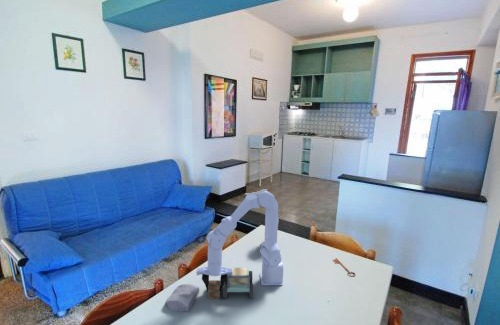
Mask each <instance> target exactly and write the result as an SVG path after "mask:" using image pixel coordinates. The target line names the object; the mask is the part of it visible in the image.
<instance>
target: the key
mask: <svg viewBox="0 0 500 325" xmlns="http://www.w3.org/2000/svg"><path fill="white" fill-rule="evenodd" d="M332 262H333V263H334V264H335V265H341V266H342V268H344V270H345V271H347V276H348V277H349V278H350V277H352V278H354V277H355V276H356V273H355V272H352V271H350V270H349V268H347V267H346V266H345V265H344V264H343V263H342V262H341V261H340V260H339V259H338V258H335V259H332ZM351 274H353V275H351Z"/></svg>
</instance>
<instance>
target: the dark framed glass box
mask: <svg viewBox="0 0 500 325" xmlns="http://www.w3.org/2000/svg"><path fill="white" fill-rule="evenodd" d="M230 269H233V275H227V279H226V281H225V283H224V285H223V288H222V291H223V292H222V294H223V298H224V299H228V293H249V299H250V298H251V299H253V298H254V284H253V270H248V268H247V267H230Z"/></svg>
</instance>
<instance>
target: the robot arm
mask: <svg viewBox="0 0 500 325" xmlns="http://www.w3.org/2000/svg"><path fill="white" fill-rule="evenodd" d="M260 206H261V207H263V208H265V217H264V241H262V243H261V247H260V250H259V253H260V255H261V257H262V260H261V261H262V263H261V273H259V275H260V276H259V277H260V285H261V286H283V285H284V283H283V281H284V280H283V279H284V264H283V261H282V254H281V250H280V247H279V245H278V231H277V227H278V228H279V221H278V218H279V203H278V201H277V199H276V198H275V195H274V194H273V193H271V192H270V191H268V190H263V191H261V192H258V193H253V194H246V196H245V198H244V199H243V201H241V203H240V204H239V205H238V206H237V208H236V209H235V210H234V212H233V213H232V214H231V215H230V216H225V217H224V218H222V219H221V220H220V221H221V222H220V223H219V224H218V225H217V226H216V227H214V228H213V229H212V230H210V231H209V232H208V233H207V235H206V237H205V240H206V242H208V243H207V266H205V267H198V268H197V267H196V268H197V269H196V276H200V275H201V281H202V283H204V285H205V289H206V292H207V293H208V284H209V281H210V276H211V277H218V276H220V277H219V278H220V293H221V292H222V291H223V288H224V284H226V283H225V281H226V279H227V275H233V269H231V268H228V267H224V266H223V247H224V245H225V242H226V239H227V238H228V237H229V236H230V235H231V233H232V232H233V231H234V230H235V229H236V227H237V225H238V224H237V222H238V221H240V220H241V219H242V218H243V217H244V216H245V215H246V214H247V212H249V211H250V210H251V209H259V208H260ZM222 293H223V292H222Z"/></svg>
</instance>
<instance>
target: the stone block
mask: <svg viewBox="0 0 500 325" xmlns="http://www.w3.org/2000/svg"><path fill="white" fill-rule="evenodd" d="M199 294H200V287H199V286H198V285H194V284H190V283H182V284H179V285H178V286H177V287H176V288H175V289H174V290H173V291H172V292H171V294H170V295H169V298H168V299H167V306H168V309H170V310H172V311H181V312H189V311H190V309H191V307H192V306H193V304H194V302H195V300H196V299H197V297H198V295H199Z"/></svg>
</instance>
